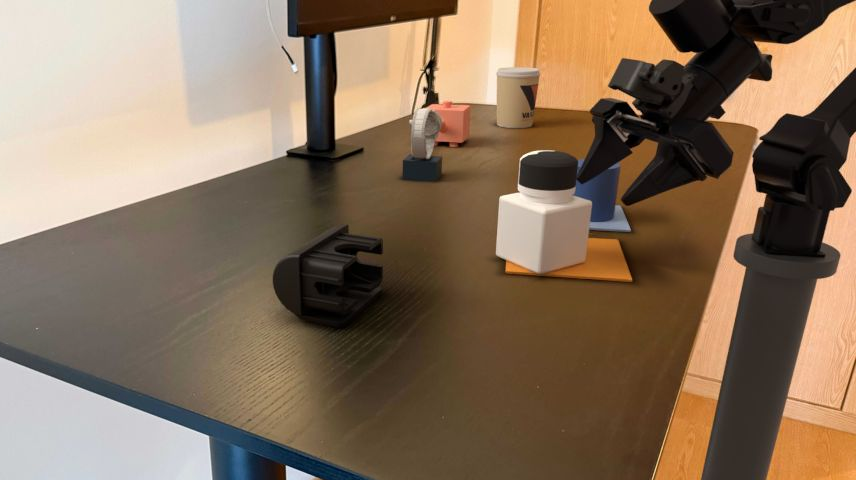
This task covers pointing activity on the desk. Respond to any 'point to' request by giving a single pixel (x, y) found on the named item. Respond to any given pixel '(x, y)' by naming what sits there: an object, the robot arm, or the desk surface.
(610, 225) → the blue mat
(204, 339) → the desk surface
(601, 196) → the blue cylinder
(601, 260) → the amber mat
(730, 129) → the desk surface
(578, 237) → the medicine bottle
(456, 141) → the pink cube teapot
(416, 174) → the watch
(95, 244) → the desk surface
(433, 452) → the desk surface
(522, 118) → the coffee cup
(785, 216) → the robot arm
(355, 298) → the end cap
